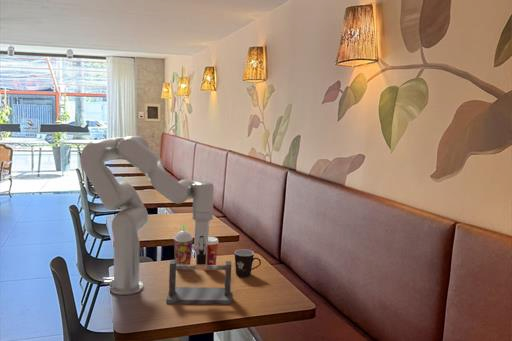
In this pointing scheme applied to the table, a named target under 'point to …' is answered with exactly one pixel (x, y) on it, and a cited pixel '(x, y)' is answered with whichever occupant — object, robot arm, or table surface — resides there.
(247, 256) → the coffee mug
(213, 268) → the rack
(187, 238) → the smoothie
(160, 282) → the table surface
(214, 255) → the paper cup
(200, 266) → the open topped box
